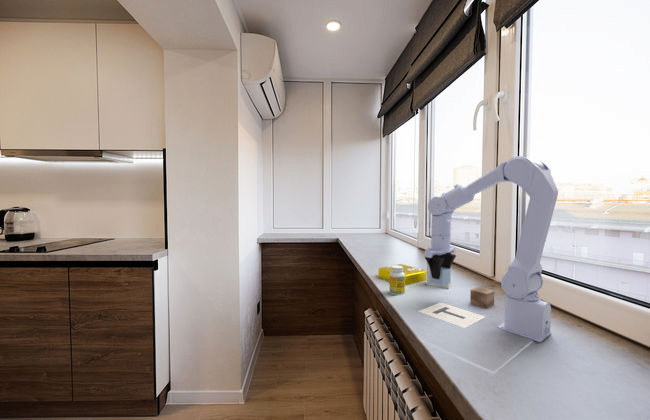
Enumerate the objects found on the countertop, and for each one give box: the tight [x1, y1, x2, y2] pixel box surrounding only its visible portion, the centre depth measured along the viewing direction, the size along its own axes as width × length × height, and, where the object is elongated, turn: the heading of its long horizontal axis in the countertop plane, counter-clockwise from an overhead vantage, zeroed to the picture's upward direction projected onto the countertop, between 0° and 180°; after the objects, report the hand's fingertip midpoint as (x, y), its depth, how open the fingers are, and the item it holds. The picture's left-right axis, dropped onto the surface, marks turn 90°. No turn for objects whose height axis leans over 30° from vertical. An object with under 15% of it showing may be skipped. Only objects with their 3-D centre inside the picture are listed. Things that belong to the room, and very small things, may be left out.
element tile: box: [377, 263, 427, 286], centre depth 124 cm, size 15×15×5 cm
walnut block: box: [469, 286, 495, 309], centre depth 93 cm, size 5×5×5 cm
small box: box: [426, 261, 452, 290], centre depth 113 cm, size 8×6×10 cm
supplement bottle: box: [388, 264, 406, 296], centre depth 104 cm, size 5×5×10 cm
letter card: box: [418, 302, 486, 329], centre depth 85 cm, size 14×12×1 cm
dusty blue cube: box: [430, 267, 450, 285], centre depth 94 cm, size 4×4×4 cm
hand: (440, 277), depth 94 cm, fingers closed on dusty blue cube, 4 cm apart
